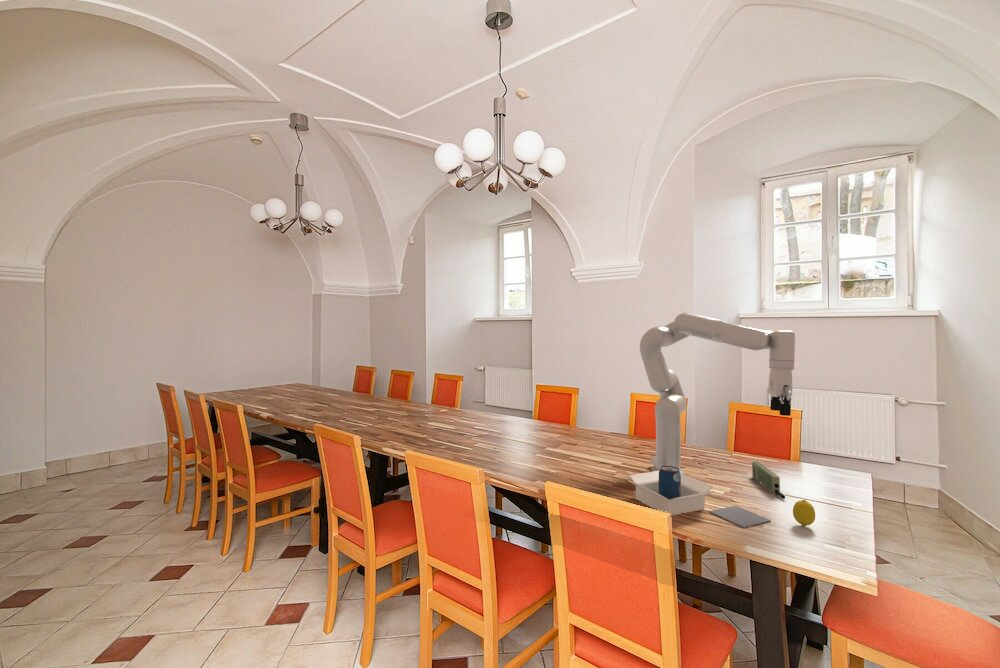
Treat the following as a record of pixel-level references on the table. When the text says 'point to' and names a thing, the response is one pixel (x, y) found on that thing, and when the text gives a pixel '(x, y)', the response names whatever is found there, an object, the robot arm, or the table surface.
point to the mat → (739, 516)
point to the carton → (688, 501)
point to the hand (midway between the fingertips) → (780, 412)
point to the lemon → (804, 513)
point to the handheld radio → (767, 478)
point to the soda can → (669, 482)
